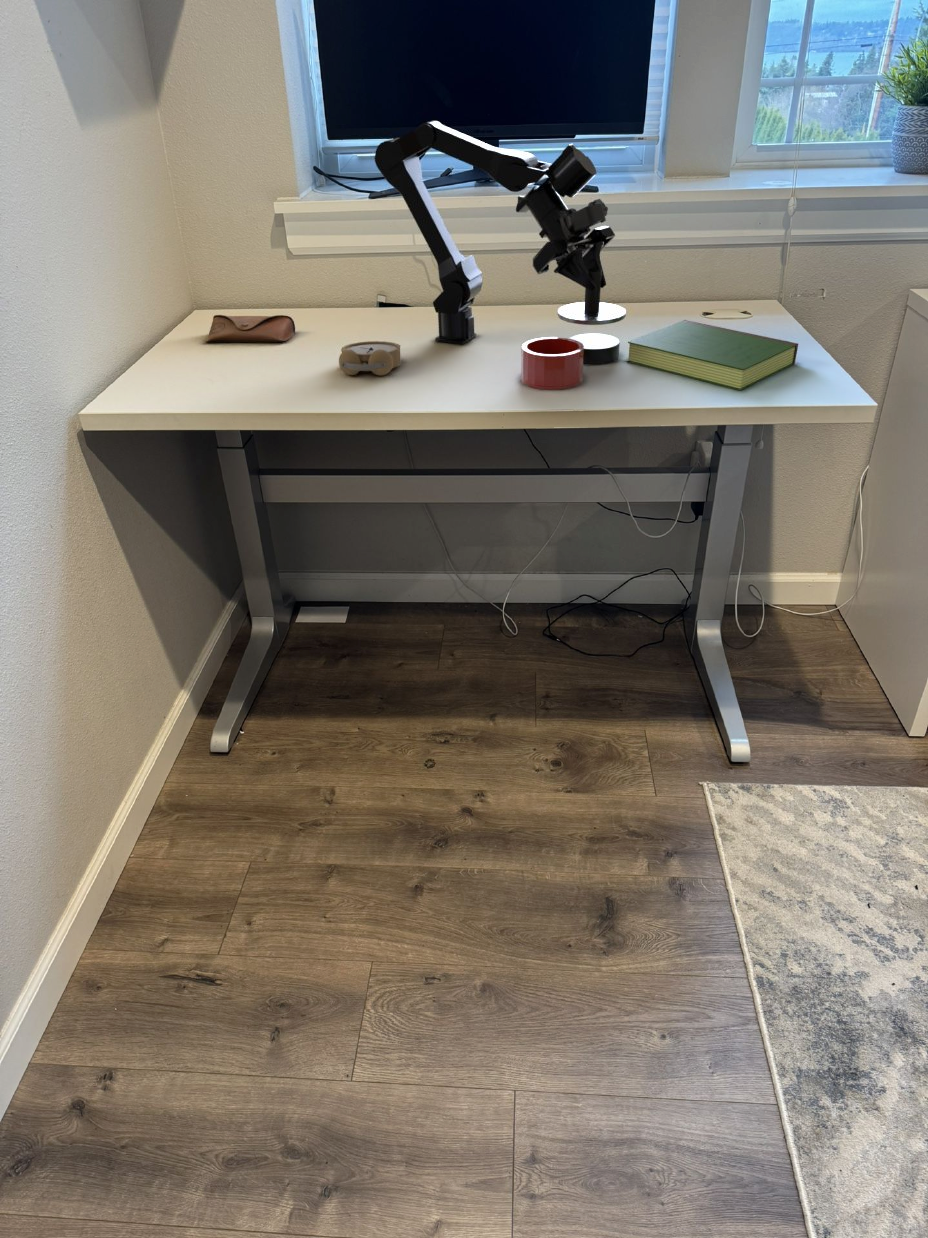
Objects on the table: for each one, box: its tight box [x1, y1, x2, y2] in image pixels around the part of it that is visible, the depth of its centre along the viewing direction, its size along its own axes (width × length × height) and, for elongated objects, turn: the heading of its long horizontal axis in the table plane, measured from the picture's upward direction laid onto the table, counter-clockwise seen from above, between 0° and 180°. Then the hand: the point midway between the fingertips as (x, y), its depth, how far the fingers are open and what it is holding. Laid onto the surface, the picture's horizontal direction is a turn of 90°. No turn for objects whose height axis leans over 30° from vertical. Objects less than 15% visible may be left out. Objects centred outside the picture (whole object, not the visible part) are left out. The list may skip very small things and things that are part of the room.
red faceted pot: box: [520, 336, 584, 391], centre depth 156 cm, size 11×11×6 cm
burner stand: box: [569, 333, 621, 366], centre depth 167 cm, size 10×10×3 cm
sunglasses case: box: [204, 314, 296, 344], centre depth 185 cm, size 18×7×7 cm
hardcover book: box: [626, 319, 799, 392], centre depth 162 cm, size 25×19×4 cm
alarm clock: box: [338, 340, 402, 376], centre depth 165 cm, size 11×5×15 cm
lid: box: [557, 269, 627, 326], centre depth 161 cm, size 13×13×8 cm
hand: (599, 288), depth 159 cm, fingers closed on lid, 3 cm apart
